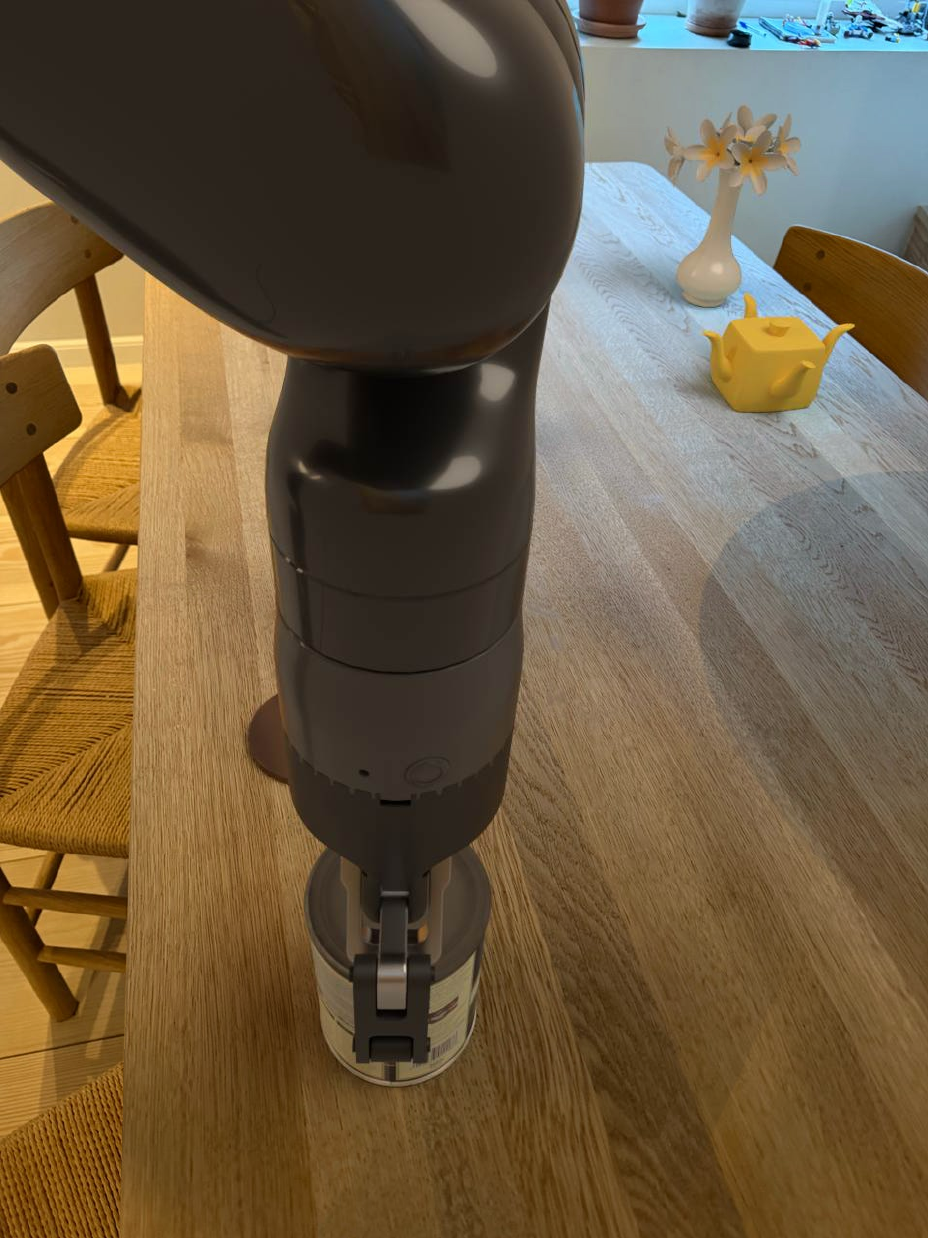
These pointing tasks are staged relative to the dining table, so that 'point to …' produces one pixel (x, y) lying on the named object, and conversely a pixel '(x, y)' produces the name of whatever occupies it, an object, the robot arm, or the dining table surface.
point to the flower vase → (727, 194)
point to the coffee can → (453, 970)
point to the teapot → (769, 361)
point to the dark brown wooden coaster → (268, 740)
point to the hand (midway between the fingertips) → (396, 939)
